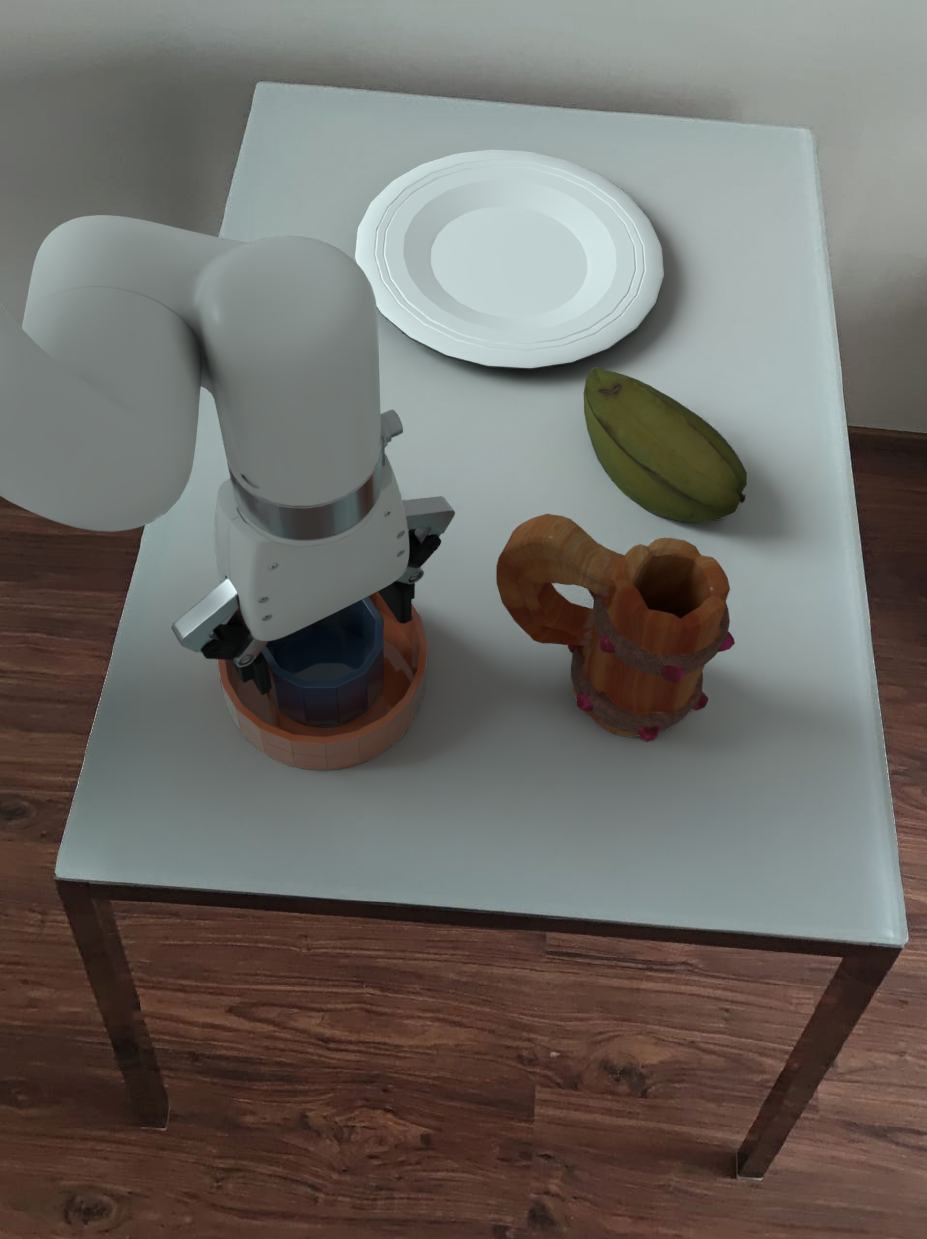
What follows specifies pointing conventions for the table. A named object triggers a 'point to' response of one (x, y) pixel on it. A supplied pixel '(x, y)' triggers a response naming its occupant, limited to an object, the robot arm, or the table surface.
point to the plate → (510, 259)
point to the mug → (620, 620)
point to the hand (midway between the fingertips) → (326, 639)
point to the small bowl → (329, 667)
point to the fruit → (661, 450)
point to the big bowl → (347, 740)
